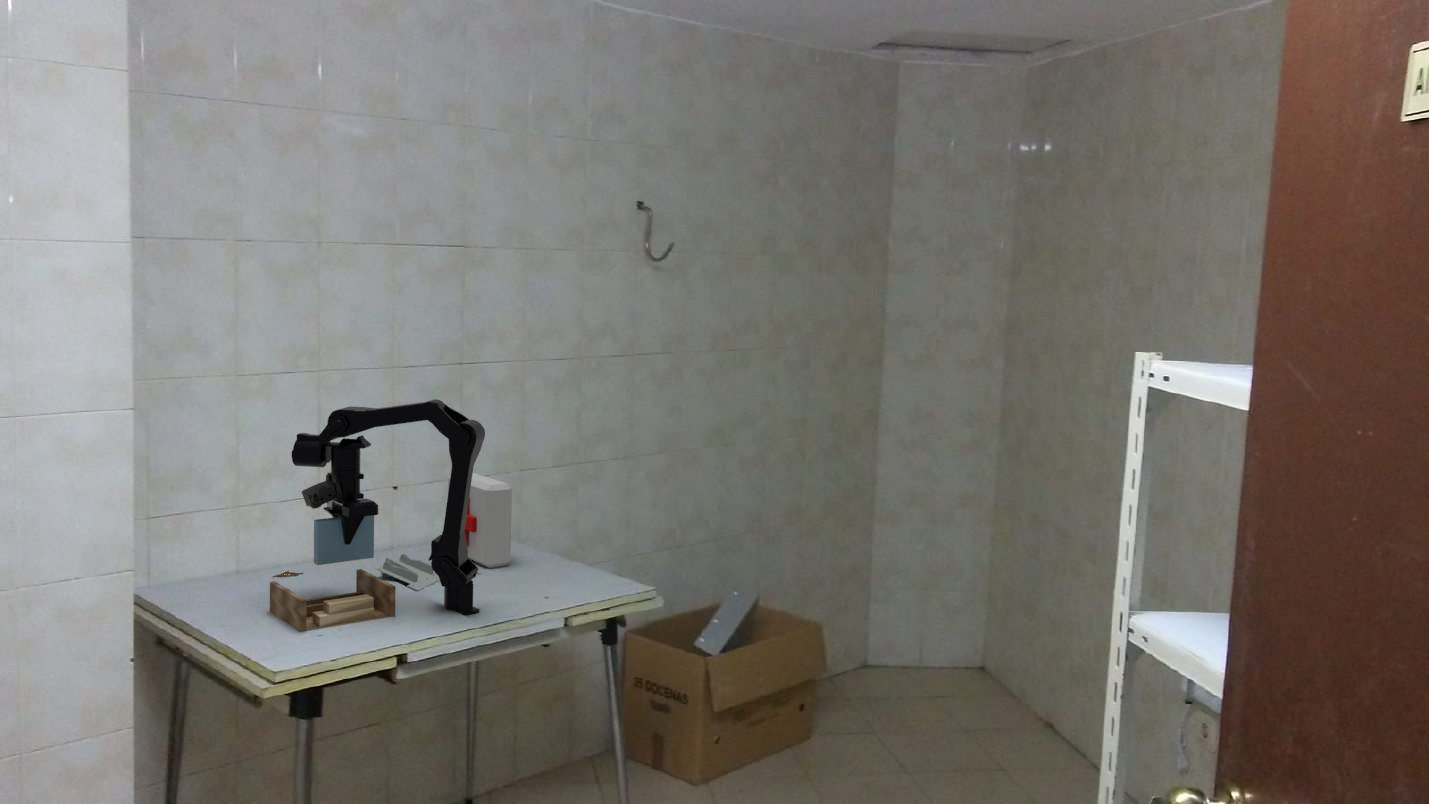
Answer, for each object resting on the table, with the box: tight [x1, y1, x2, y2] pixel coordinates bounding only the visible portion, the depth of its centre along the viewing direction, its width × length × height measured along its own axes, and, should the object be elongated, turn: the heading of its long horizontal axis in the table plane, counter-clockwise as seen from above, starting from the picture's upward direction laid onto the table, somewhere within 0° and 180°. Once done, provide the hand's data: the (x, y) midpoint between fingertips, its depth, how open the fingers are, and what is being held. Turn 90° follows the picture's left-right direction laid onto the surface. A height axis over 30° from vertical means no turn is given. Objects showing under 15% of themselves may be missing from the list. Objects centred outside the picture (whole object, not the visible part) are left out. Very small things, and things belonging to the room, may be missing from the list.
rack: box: [269, 568, 397, 633], centre depth 233 cm, size 16×19×7 cm
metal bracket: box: [375, 553, 440, 593], centre depth 264 cm, size 14×6×15 cm
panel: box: [313, 515, 375, 566], centre depth 241 cm, size 2×12×9 cm, turn 131°
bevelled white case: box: [447, 472, 513, 569], centre depth 284 cm, size 21×8×20 cm, turn 40°
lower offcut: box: [312, 608, 374, 627], centre depth 229 cm, size 4×11×2 cm, turn 131°
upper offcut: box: [323, 594, 374, 615], centre depth 229 cm, size 3×9×2 cm, turn 131°
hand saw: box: [272, 570, 304, 578], centre depth 255 cm, size 24×5×1 cm, turn 162°
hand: (345, 543), depth 242 cm, fingers closed on panel, 2 cm apart
